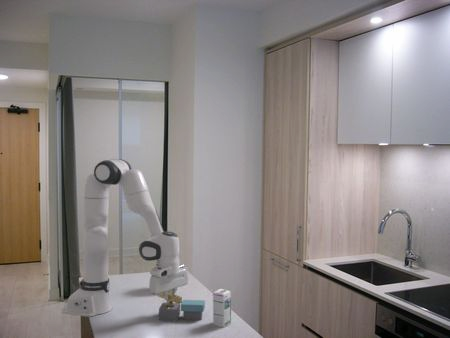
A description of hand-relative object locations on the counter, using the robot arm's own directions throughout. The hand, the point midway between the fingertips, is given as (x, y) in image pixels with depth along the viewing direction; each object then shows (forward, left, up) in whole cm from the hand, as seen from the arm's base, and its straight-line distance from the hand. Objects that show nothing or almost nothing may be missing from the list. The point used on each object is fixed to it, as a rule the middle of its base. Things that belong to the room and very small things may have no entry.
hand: (169, 298), depth 204 cm
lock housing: (+5, 0, -8) cm, 10 cm away
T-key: (0, 0, -8) cm, 8 cm away
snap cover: (+11, 0, -4) cm, 11 cm away
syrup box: (+24, -6, -9) cm, 26 cm away
